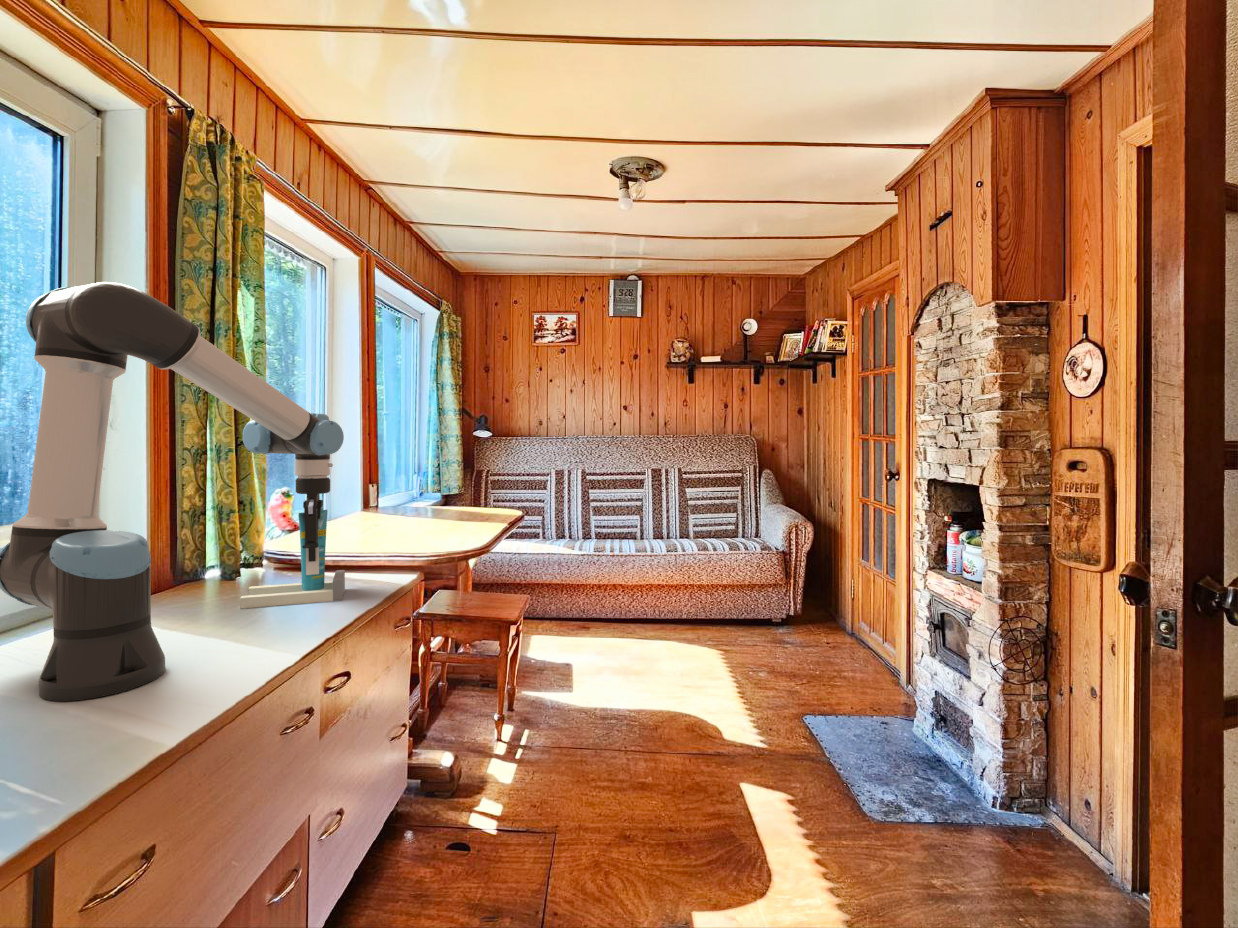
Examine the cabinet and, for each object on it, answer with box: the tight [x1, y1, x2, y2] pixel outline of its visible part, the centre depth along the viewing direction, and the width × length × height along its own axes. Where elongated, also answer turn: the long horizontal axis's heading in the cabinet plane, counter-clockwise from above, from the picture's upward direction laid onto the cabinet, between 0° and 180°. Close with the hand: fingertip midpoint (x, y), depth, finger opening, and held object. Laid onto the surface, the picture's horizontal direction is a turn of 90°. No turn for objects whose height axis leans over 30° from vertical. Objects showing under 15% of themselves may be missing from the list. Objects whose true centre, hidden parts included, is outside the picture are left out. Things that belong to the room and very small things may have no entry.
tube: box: [297, 509, 328, 591], centre depth 143 cm, size 7×5×19 cm, turn 157°
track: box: [239, 569, 346, 610], centre depth 142 cm, size 11×21×5 cm, turn 112°
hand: (313, 571), depth 144 cm, fingers closed on tube, 5 cm apart
